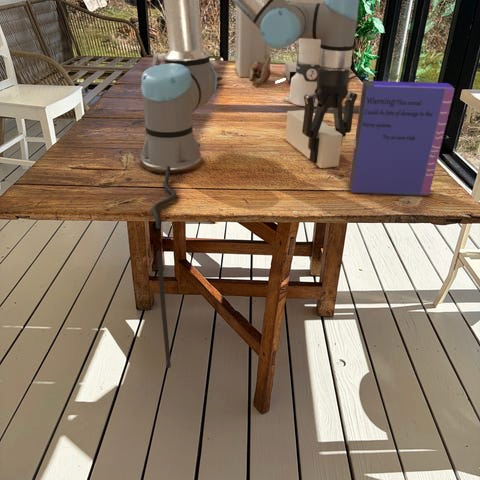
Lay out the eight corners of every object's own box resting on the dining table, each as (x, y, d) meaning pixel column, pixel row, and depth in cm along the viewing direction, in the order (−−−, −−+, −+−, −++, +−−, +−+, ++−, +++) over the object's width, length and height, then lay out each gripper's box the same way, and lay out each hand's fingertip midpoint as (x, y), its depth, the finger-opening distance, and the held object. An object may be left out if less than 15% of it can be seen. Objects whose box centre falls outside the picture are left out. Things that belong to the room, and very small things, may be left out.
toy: (172, 75, 209) (171, 59, 206) (148, 65, 227) (147, 49, 223) (219, 69, 221) (219, 54, 218) (193, 60, 239) (193, 45, 235)
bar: (338, 166, 123) (342, 134, 118) (320, 168, 121) (324, 136, 117) (301, 138, 141) (304, 109, 136) (285, 139, 139) (287, 111, 135)
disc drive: (289, 84, 198) (290, 71, 196) (284, 72, 218) (284, 61, 215) (331, 84, 199) (332, 72, 196) (322, 72, 218) (323, 61, 215)
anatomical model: (260, 88, 207) (256, 89, 193) (245, 74, 206) (240, 74, 192) (280, 65, 202) (277, 65, 188) (265, 51, 201) (261, 49, 187)
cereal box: (423, 187, 112) (447, 82, 100) (428, 195, 108) (454, 87, 96) (348, 184, 113) (363, 79, 101) (351, 192, 109) (367, 85, 96)
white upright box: (273, 76, 210) (276, 6, 196) (239, 77, 209) (240, 6, 194) (266, 67, 226) (268, 2, 212) (235, 67, 225) (235, 1, 210)
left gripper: (359, 62, 118) (346, 151, 130) (292, 66, 113) (285, 158, 125) (376, 68, 112) (361, 161, 124) (306, 72, 107) (297, 169, 119)
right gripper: (345, -31, 134) (339, 22, 141) (278, -32, 128) (275, 24, 136) (356, -30, 129) (350, 25, 136) (287, -31, 123) (284, 27, 130)
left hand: (323, 160), depth 124 cm, fingers closed on bar, 5 cm apart
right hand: (312, 25), depth 136 cm, fingers open, 8 cm apart
